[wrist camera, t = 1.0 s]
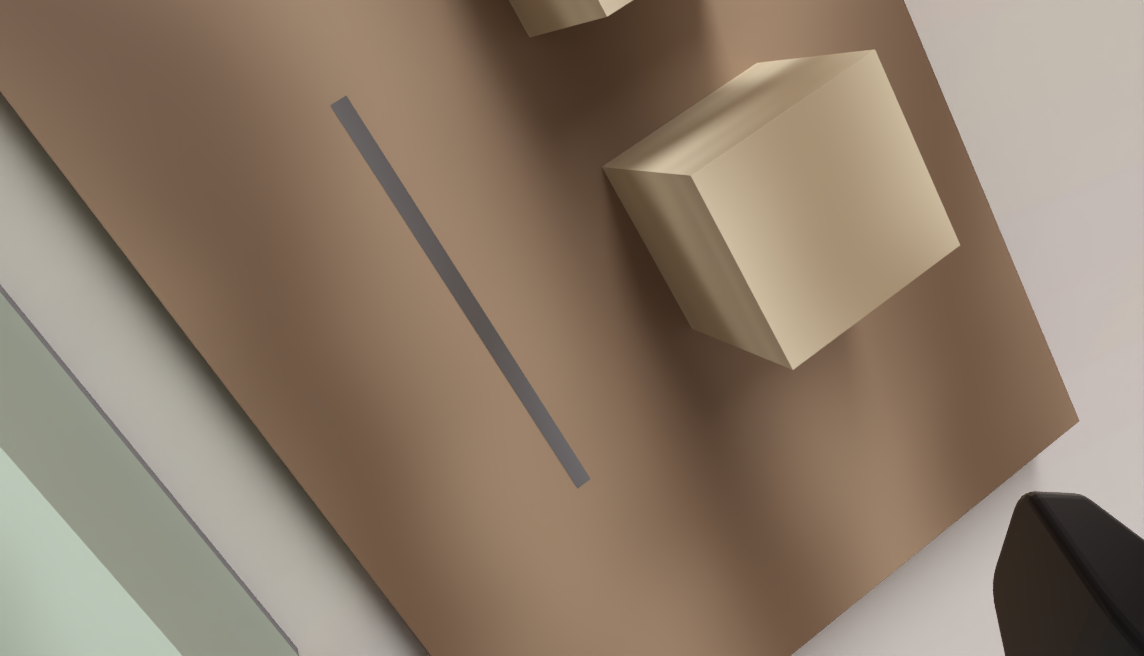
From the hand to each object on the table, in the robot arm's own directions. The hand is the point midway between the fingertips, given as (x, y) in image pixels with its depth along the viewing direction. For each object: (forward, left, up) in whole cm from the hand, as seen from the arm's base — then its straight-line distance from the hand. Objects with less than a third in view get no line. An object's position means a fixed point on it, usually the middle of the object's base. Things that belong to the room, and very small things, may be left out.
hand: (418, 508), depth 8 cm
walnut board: (+5, 0, -11) cm, 12 cm away
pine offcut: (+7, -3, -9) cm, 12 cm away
